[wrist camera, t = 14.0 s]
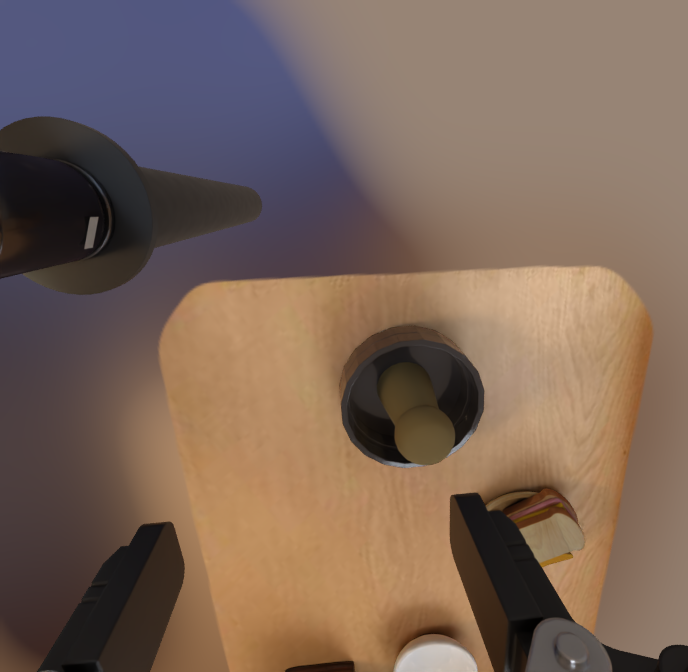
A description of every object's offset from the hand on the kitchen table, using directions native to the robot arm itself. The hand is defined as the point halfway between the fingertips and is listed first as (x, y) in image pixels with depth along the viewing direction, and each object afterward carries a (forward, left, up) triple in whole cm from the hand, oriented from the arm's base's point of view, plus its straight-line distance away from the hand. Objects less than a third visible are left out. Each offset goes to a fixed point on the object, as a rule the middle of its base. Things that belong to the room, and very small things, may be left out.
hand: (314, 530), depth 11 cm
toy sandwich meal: (+22, -32, -30) cm, 49 cm away
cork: (+8, -11, -30) cm, 33 cm away
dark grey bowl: (+8, -11, -30) cm, 33 cm away
